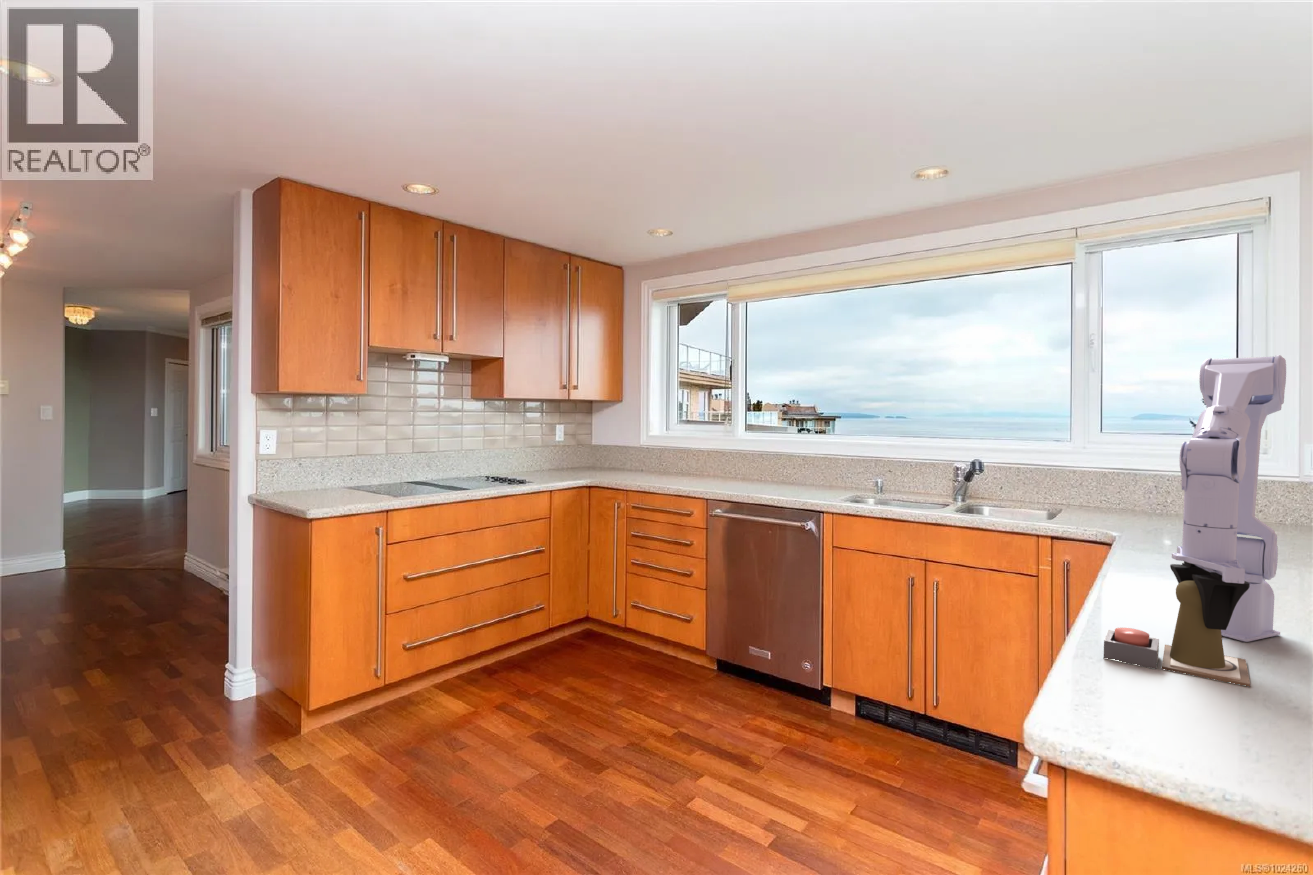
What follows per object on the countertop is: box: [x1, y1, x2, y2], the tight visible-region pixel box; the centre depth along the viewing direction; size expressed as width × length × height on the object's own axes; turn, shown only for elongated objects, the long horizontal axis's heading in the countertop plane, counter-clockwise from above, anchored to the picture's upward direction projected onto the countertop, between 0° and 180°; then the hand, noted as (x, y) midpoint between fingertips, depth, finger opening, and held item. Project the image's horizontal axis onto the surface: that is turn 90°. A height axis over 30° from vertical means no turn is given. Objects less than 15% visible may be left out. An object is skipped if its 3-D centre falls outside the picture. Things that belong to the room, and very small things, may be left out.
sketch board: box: [1161, 644, 1251, 688], centre depth 91 cm, size 11×9×1 cm
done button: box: [1114, 627, 1150, 647], centre depth 93 cm, size 4×4×2 cm
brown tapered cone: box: [1170, 581, 1226, 669], centre depth 91 cm, size 6×6×11 cm
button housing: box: [1103, 629, 1160, 670], centre depth 94 cm, size 6×6×3 cm
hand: (1205, 622), depth 90 cm, fingers closed on brown tapered cone, 5 cm apart
